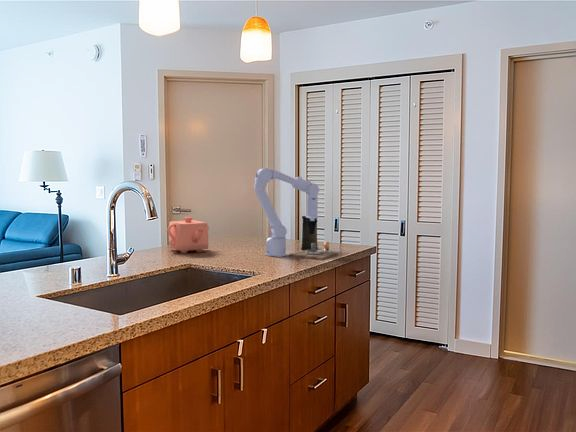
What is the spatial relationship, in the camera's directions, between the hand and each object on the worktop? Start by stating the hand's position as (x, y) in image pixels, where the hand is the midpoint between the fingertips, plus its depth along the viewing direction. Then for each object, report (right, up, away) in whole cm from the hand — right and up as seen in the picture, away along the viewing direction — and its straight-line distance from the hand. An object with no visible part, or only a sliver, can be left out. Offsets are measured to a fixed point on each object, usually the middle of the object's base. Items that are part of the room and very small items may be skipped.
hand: (311, 234), depth 259 cm
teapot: (-62, -10, +7) cm, 63 cm away
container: (0, -9, +17) cm, 20 cm away
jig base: (+1, -11, -3) cm, 11 cm away
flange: (+3, -9, -3) cm, 10 cm away
